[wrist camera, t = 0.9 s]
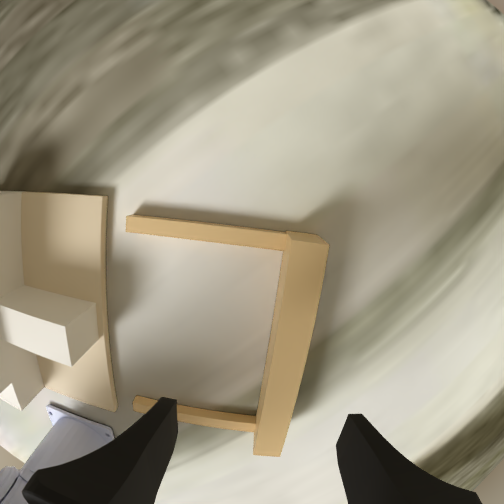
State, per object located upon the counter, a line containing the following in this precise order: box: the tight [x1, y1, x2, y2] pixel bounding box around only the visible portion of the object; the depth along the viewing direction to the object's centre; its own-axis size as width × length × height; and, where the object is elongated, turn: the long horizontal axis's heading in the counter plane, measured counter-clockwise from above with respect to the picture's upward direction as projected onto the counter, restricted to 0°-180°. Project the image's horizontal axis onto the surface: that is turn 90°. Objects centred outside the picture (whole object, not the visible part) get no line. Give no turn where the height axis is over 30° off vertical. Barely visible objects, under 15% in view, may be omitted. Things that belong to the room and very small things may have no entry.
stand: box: [0, 191, 118, 412], centre depth 17 cm, size 15×18×7 cm
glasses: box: [126, 215, 329, 457], centre depth 19 cm, size 12×16×4 cm
